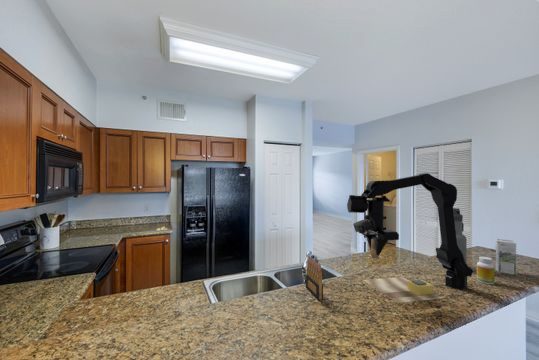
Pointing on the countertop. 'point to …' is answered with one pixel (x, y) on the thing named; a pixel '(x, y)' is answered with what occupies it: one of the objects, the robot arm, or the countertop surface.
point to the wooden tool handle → (373, 249)
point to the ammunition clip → (314, 279)
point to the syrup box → (506, 256)
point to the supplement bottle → (485, 271)
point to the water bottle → (460, 233)
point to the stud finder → (420, 287)
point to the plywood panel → (399, 290)
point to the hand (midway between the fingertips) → (375, 253)
